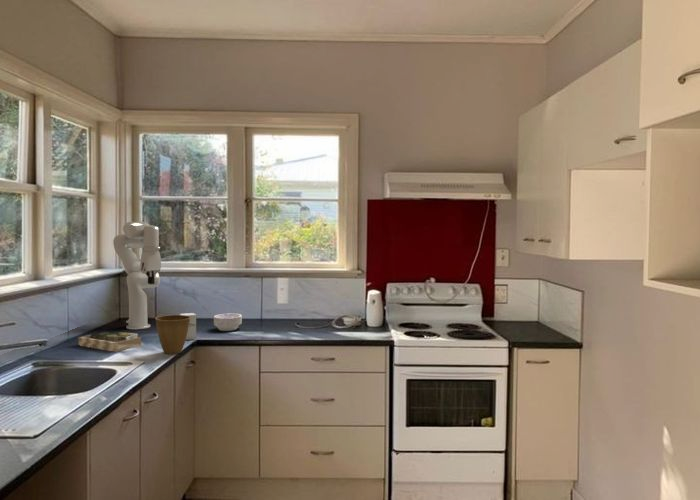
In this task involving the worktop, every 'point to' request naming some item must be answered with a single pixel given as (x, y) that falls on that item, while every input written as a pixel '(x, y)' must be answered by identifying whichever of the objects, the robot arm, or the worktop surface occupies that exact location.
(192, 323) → the supplement box
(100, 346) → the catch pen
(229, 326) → the paper bowls
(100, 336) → the juice carton
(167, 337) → the plant pot
